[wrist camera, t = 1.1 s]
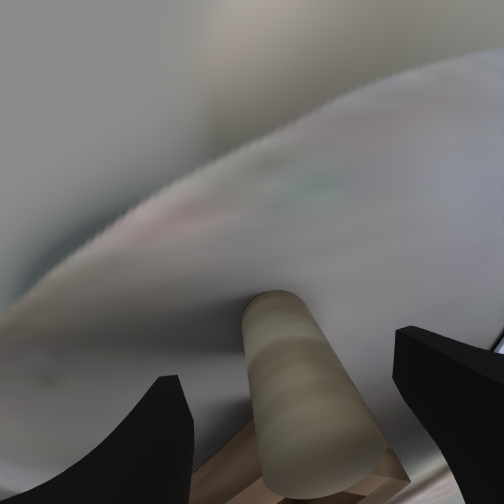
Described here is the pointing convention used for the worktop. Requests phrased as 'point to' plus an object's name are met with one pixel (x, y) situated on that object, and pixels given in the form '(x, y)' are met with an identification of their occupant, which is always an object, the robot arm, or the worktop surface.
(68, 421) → the worktop surface
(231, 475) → the socket block
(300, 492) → the pin
